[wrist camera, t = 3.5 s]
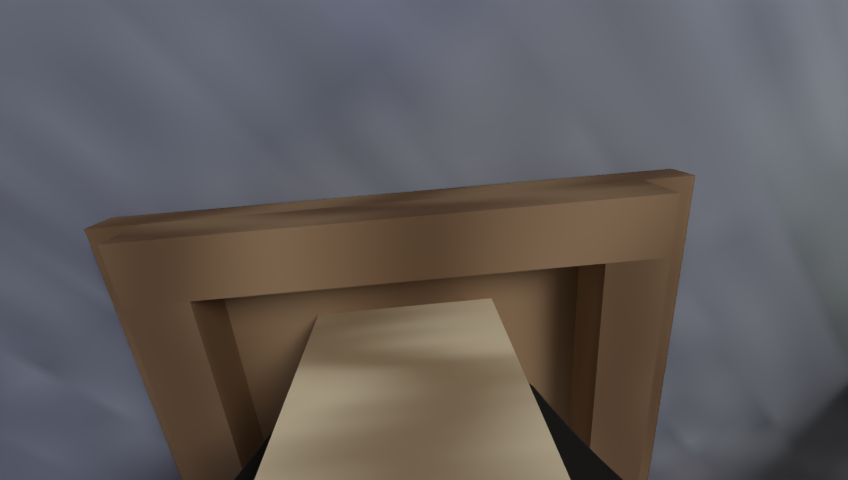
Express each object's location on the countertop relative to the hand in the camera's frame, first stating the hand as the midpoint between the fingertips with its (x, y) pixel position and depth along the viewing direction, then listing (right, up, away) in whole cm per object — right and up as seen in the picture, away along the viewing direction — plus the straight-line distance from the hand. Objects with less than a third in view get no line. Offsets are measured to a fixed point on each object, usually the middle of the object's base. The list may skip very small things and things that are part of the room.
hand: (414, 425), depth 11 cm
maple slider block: (0, +1, +2) cm, 2 cm away
